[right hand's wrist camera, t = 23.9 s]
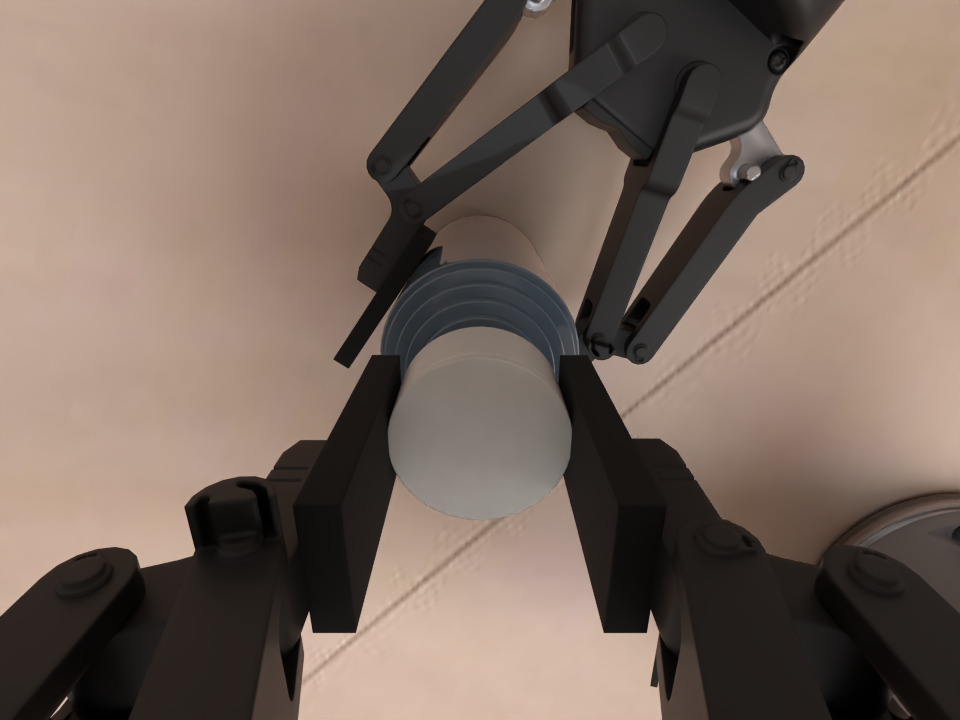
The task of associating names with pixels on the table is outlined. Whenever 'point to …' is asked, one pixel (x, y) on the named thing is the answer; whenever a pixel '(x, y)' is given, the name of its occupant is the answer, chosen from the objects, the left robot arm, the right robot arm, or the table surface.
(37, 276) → the table surface
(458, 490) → the cap
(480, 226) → the bottle
